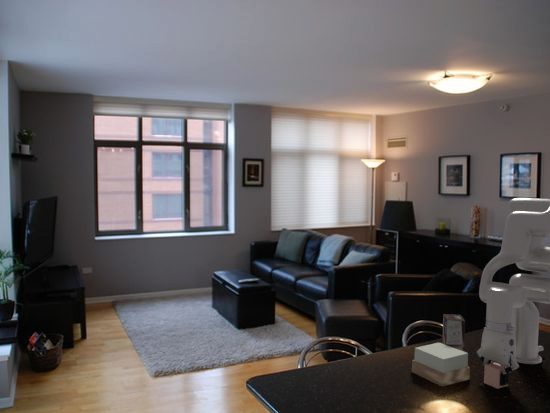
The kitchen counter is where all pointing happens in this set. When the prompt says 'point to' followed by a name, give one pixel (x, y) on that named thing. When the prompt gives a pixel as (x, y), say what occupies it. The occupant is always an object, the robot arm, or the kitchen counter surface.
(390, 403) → the kitchen counter surface
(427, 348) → the tower top
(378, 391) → the kitchen counter surface
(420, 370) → the tower base
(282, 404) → the kitchen counter surface
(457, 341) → the coffee box
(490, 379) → the pink block
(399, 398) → the kitchen counter surface
